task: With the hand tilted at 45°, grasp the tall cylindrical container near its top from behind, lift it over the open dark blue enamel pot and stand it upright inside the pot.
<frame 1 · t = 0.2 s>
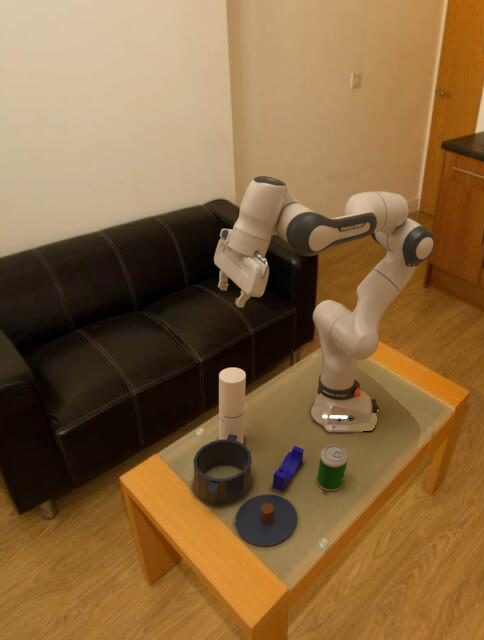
hand: (230, 297, 119), 52 cm above the table, tool tilted 20°, fingers open, 8 cm apart
pot: (222, 484, 135), on the table
cable clip: (285, 475, 141), on the table
soda can: (329, 483, 141), on the table
pot lid: (266, 519, 127), point 1 cm above the table
cylindrical container: (231, 442, 149), on the table
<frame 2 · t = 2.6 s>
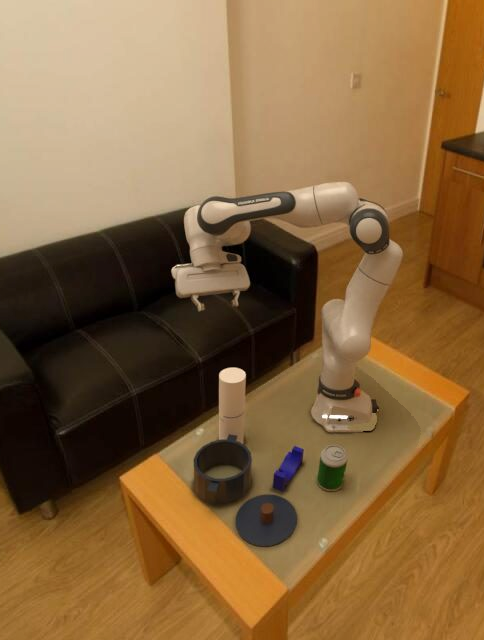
hand: (218, 308, 138), 40 cm above the table, tool tilted 45°, fingers open, 8 cm apart
nothing on the table moved.
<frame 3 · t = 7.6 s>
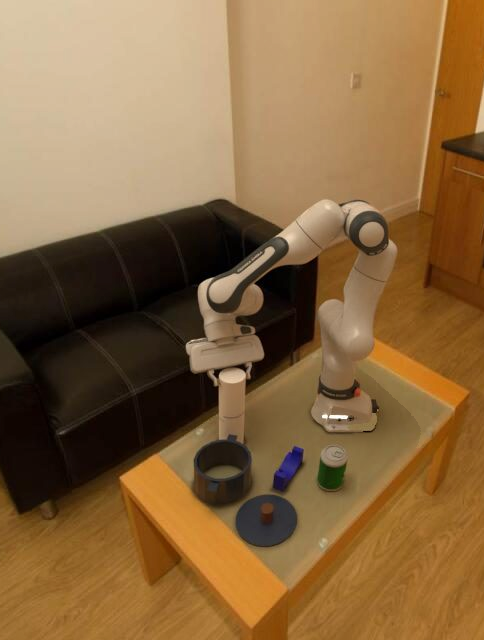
hand: (233, 382, 137), 23 cm above the table, tool tilted 45°, fingers closed on cylindrical container, 7 cm apart
cylindrical container: (231, 442, 149), on the table, touching gripper
everything else where it was.
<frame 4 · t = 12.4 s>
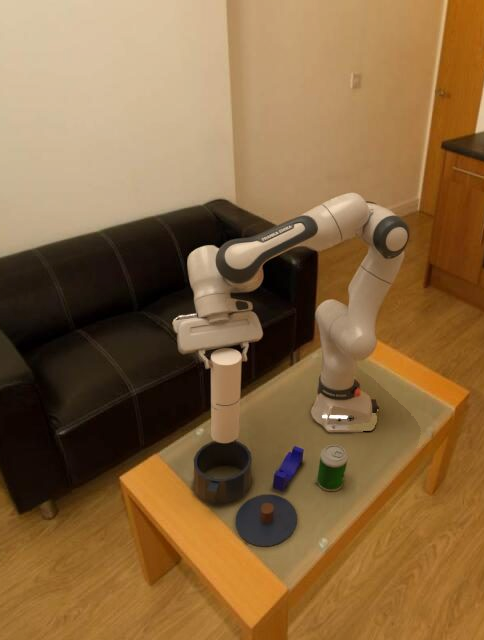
hand: (227, 364, 120), 37 cm above the table, tool tilted 45°, fingers closed on cylindrical container, 7 cm apart
cylindrical container: (225, 434, 132), point 14 cm above the table, touching gripper
everything else where it was.
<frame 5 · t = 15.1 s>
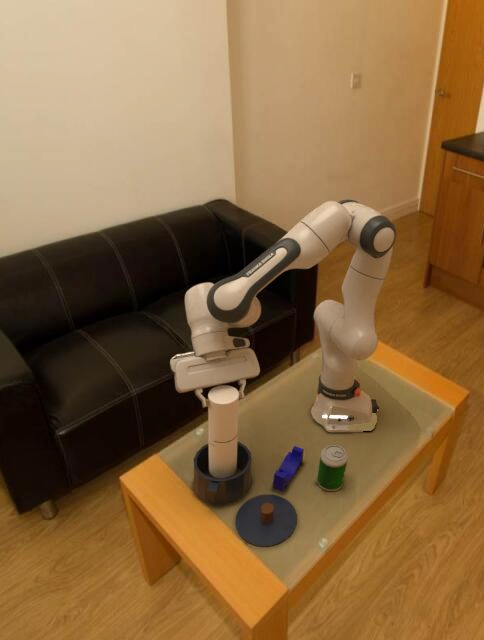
hand: (224, 402, 120), 29 cm above the table, tool tilted 45°, fingers closed on cylindrical container, 7 cm apart
cylindrical container: (222, 468, 132), point 6 cm above the table, touching gripper
everything else where it was.
when the fingers open (23 cm above the table, at t = 17.3 s): cylindrical container stays where it is, resting on pot.
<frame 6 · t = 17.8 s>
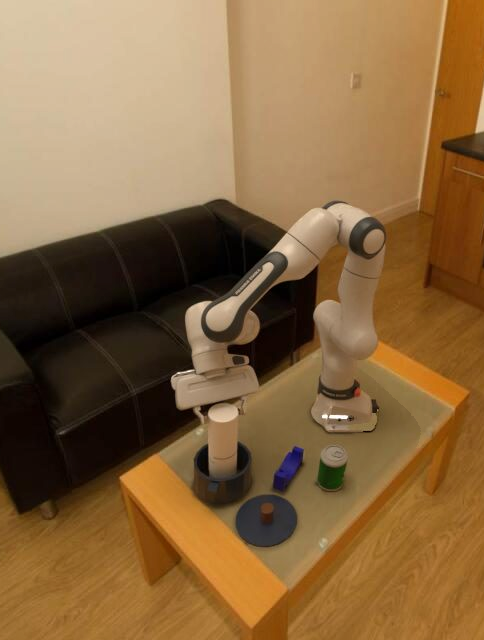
hand: (224, 419, 123), 24 cm above the table, tool tilted 45°, fingers open, 8 cm apart
cylindrical container: (222, 483, 135), resting on pot
everything else where it was.
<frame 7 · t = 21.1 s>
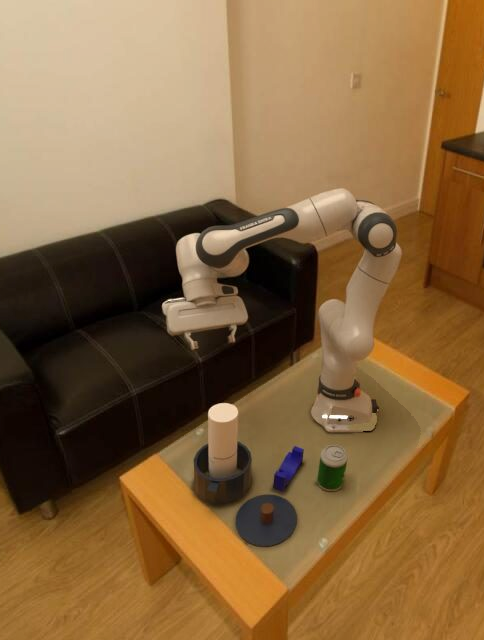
hand: (213, 345, 127), 37 cm above the table, tool tilted 45°, fingers open, 8 cm apart
nothing on the table moved.
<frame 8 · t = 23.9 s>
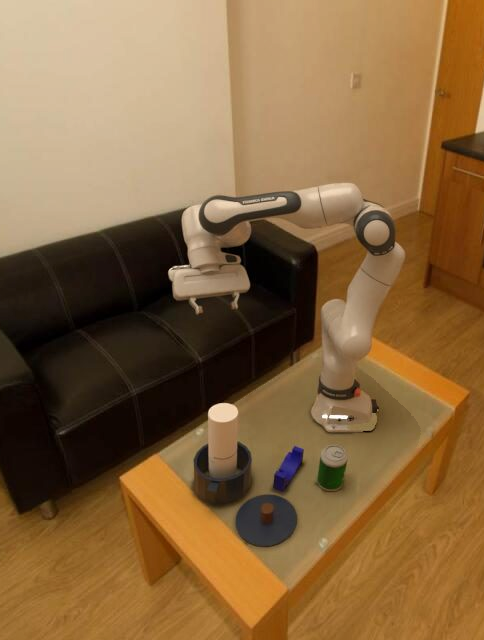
hand: (217, 311, 133), 41 cm above the table, tool tilted 45°, fingers open, 8 cm apart
nothing on the table moved.
at the end: cylindrical container 0.0 cm off-centre in the pot, point 0.3 cm above the pot's base; cylindrical container tilted 0°; the gripper is holding nothing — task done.
